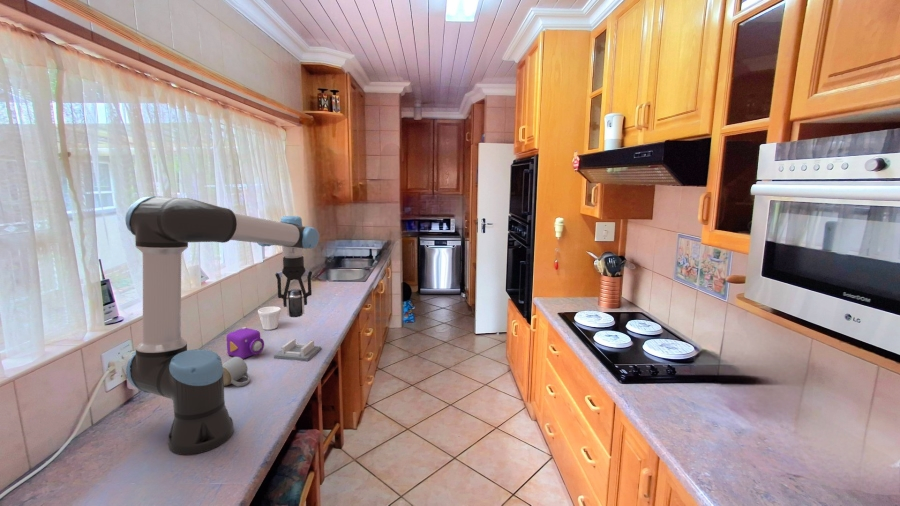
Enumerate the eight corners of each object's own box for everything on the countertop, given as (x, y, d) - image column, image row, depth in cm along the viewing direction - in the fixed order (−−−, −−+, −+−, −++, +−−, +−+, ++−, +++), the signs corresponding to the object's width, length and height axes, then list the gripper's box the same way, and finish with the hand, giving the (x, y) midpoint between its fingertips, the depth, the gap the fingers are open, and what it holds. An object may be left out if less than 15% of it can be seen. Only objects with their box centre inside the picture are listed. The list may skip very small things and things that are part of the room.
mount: (307, 361, 159) (307, 351, 158) (274, 358, 161) (273, 348, 160) (321, 349, 171) (320, 339, 170) (289, 346, 173) (289, 337, 172)
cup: (281, 330, 190) (280, 311, 189) (257, 332, 186) (257, 313, 185) (281, 323, 199) (281, 305, 198) (259, 325, 196) (258, 307, 194)
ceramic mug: (212, 385, 138) (211, 364, 137) (230, 374, 146) (229, 354, 145) (238, 390, 136) (237, 369, 135) (255, 379, 144) (255, 359, 142)
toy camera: (253, 362, 157) (252, 337, 155) (223, 358, 160) (221, 333, 158) (271, 351, 167) (270, 328, 166) (242, 347, 170) (240, 324, 168)
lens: (298, 317, 158) (297, 292, 156) (286, 316, 159) (285, 291, 157) (305, 313, 163) (304, 288, 162) (293, 312, 164) (292, 288, 162)
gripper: (267, 259, 150) (270, 318, 154) (318, 256, 157) (320, 314, 161) (268, 255, 157) (271, 312, 161) (316, 253, 164) (318, 308, 168)
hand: (295, 313), depth 161 cm, fingers closed on lens, 5 cm apart
